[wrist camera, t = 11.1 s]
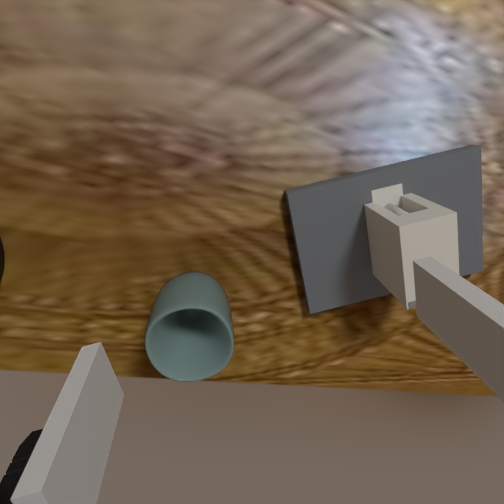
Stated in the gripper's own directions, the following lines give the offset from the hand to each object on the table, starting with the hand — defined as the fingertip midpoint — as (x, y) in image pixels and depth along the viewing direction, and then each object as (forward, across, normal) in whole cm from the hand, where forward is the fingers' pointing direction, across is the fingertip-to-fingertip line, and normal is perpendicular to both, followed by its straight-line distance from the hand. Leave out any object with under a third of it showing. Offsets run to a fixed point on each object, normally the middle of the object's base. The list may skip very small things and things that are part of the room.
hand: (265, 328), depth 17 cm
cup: (+26, -6, -10) cm, 29 cm away
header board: (+26, +16, -8) cm, 31 cm away
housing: (+24, +16, -8) cm, 30 cm away
